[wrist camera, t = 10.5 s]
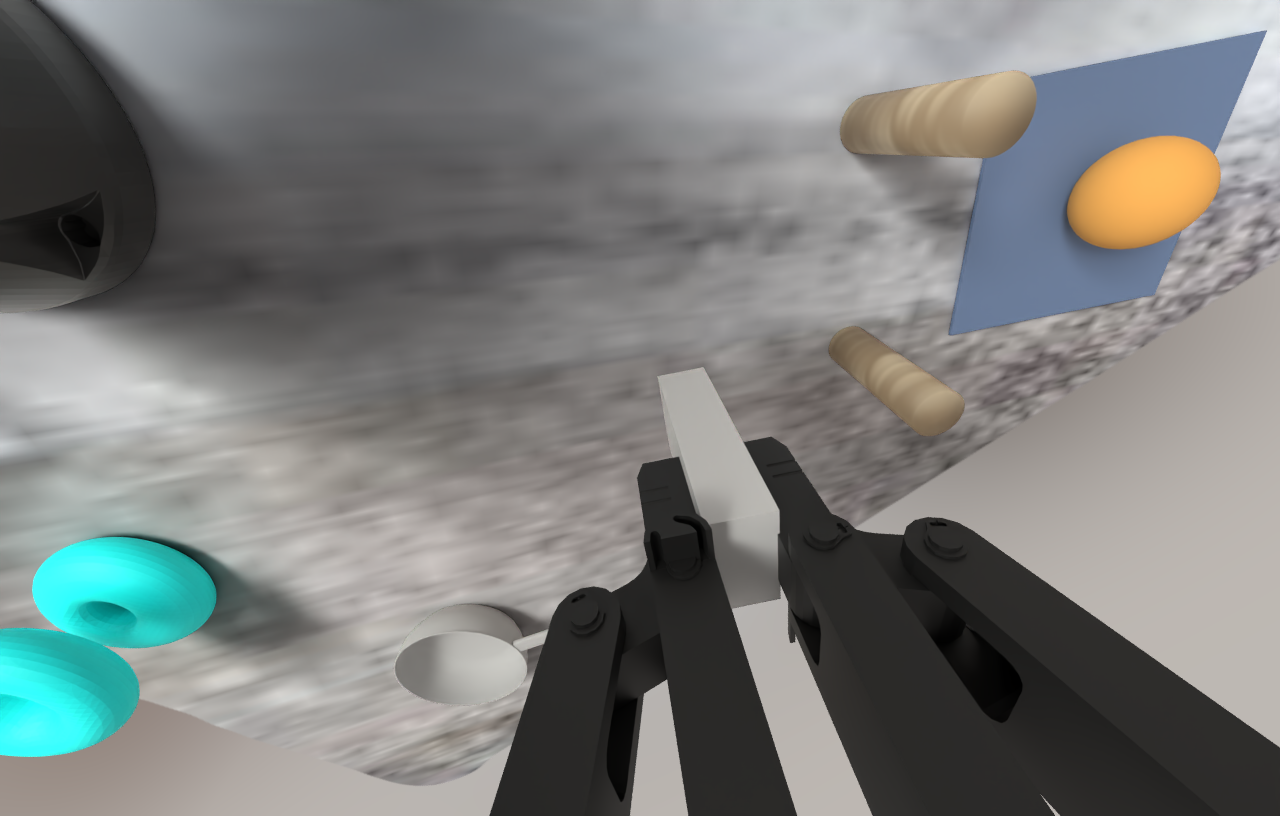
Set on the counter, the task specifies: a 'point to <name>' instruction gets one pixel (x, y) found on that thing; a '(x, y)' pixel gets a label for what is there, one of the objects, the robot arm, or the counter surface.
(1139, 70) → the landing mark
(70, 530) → the counter surface
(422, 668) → the saucepan
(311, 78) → the counter surface
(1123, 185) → the ball
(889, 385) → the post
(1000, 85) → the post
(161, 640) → the donuts
